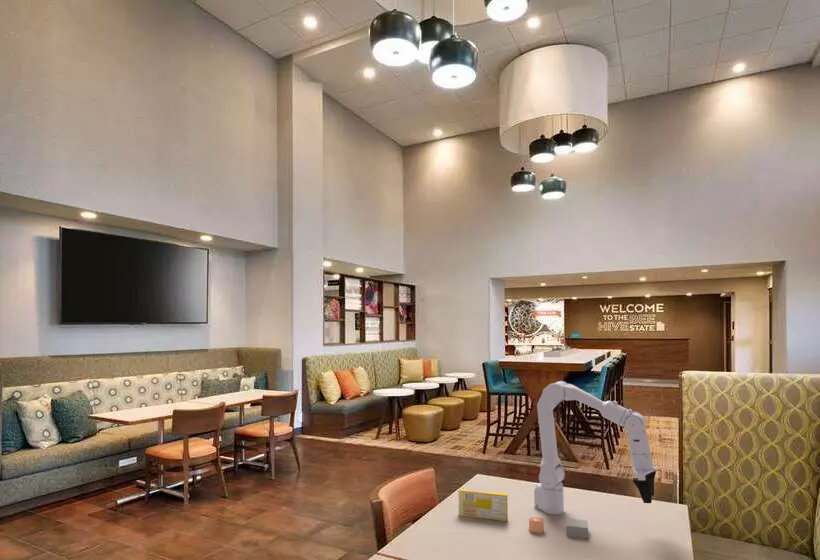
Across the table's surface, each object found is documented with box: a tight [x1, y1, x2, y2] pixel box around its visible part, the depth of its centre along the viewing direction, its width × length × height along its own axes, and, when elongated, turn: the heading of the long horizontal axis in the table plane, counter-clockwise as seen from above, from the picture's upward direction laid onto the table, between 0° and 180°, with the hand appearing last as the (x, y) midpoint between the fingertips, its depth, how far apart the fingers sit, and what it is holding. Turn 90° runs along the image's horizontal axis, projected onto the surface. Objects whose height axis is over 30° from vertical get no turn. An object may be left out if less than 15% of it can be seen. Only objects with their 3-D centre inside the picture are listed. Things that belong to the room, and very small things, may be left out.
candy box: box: [458, 488, 509, 522], centre depth 165 cm, size 16×2×8 cm, turn 71°
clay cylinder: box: [528, 516, 545, 534], centre depth 151 cm, size 4×4×4 cm
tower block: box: [566, 517, 589, 539], centre depth 149 cm, size 6×6×3 cm
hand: (648, 499), depth 152 cm, fingers open, 7 cm apart
